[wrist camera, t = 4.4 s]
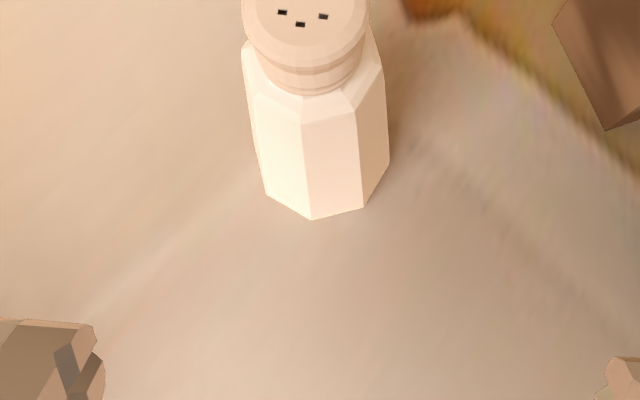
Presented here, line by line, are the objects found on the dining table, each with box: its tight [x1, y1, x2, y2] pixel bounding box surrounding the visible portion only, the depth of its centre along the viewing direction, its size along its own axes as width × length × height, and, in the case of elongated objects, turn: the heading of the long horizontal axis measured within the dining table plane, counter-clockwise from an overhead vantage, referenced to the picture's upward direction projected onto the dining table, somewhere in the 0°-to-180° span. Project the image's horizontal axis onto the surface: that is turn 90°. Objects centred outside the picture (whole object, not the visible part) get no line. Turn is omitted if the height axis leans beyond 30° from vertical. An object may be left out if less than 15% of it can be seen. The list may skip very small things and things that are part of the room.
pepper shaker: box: [241, 0, 390, 221], centre depth 18 cm, size 5×5×11 cm
